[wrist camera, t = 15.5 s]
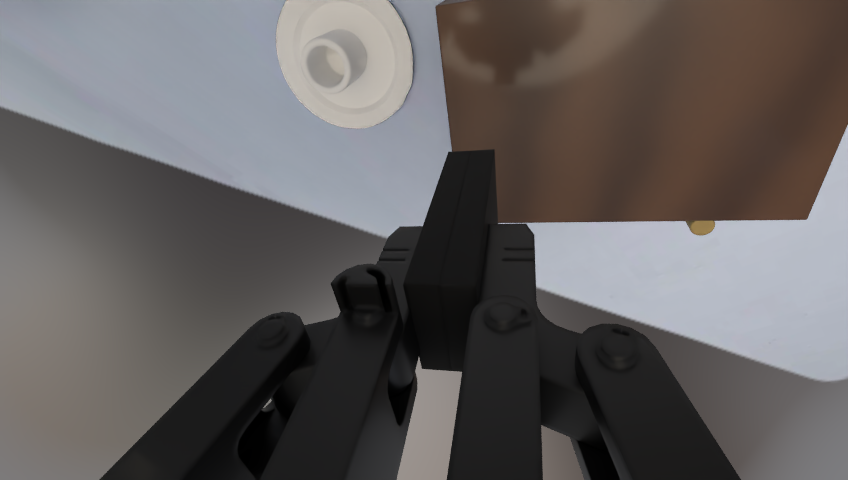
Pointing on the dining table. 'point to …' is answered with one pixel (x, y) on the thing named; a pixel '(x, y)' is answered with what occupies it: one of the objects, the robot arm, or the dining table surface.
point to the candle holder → (345, 59)
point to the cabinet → (648, 104)
